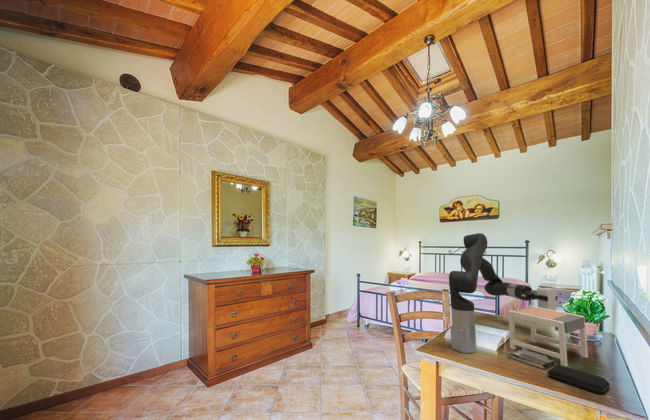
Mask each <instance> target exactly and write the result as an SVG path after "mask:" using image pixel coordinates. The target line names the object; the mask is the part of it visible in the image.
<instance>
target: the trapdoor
mask: <svg viewBox="0 0 650 420" xmlns="http://www.w3.org/2000/svg"><path fill="white" fill-rule="evenodd" d="M535 307H536V306H535ZM535 307H532V308H529V307H528V308H524V309H519V310H515V311H516V312H520V313H525V314H529V315H534V316H538V317H543V318H547V319H552V320H556V321H561V322H564V326H565V334H569V333H573V332H576V331H578V330H579V329H582V328H585V327H586V324H585V325H584V317H580V316H575V315H576V314H575V315H571V314H572V313H570V314H565V313H566V312H565V313H560V312H561V311H560V312H555V311H550V310H545V309H540V308H535ZM554 331H557V332H558V327H555V326H554Z"/></svg>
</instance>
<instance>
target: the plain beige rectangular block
mask: <svg viewBox="0 0 650 420" xmlns="http://www.w3.org/2000/svg"><path fill="white" fill-rule="evenodd" d="M536 291H537V294H539V295H543V296H547V297H548V301H543V300H537V307H540V308H545V309H550V310H555V311H558V310H557V301H556V296H557V295H556V289H553V288H547V287H540V288H536Z"/></svg>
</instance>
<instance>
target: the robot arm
mask: <svg viewBox="0 0 650 420" xmlns="http://www.w3.org/2000/svg"><path fill="white" fill-rule="evenodd" d="M463 245H464V247H465V250H464V251H463V252H462V255H460V256H461V257H460V259H459V263H460V265H461V268H462V269H463V270H464V271H462V270H461V271H460V270H451V271H450V273H449V275H448V287H449V296H450V309H451V310H450V311H451V314H450V315H451V316H450V317H451V326H450V346H451V350H455V351H458V352H460V353H462V354H473V353H476V352H477V338H476V337H477V336H476V332H477V331H476V317H475V314H476V313H475V304H474V302H473V301H471V300H469V299H467V298H465V297H463V295H461V294H462V293H463V294H473V293H476V290H477V288H478V287H477V286H478V279H479V273H480V274H481V276H482V278H483V280H485V281H487V282H486V284H484V287H483V288H484V291H485V292H486V293H487V294H488V295H491V296H497V297H498V296H501V297H502V296H508V297H511V298H513V299H518V300H521V301H526V302H529V301H530V300H533V301H535V300H536V301H538V300H543V301H548V297H547V296H543V295H539V294H537V289H536V290H533V289H532V287H531V286H529V285H525V284H524V285H523V284H518V283H510V282H505V281H503V280H502V279H501V278H500V277H499V276H498V275H497V273H496V272H495V271H496V270H495V269H494V267H493V265H492V264H491V262H489V261H488V260H487V259H485V258H484V255H485V252H486V250H487V247H488V239H487V237H486V235H485V234H484V233H481V232H479V233H478V232H477V233H473V234H472V233H471V234H467V235H465V236H464V237H463ZM557 301H558V296H557V295H556V302H557Z"/></svg>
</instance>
